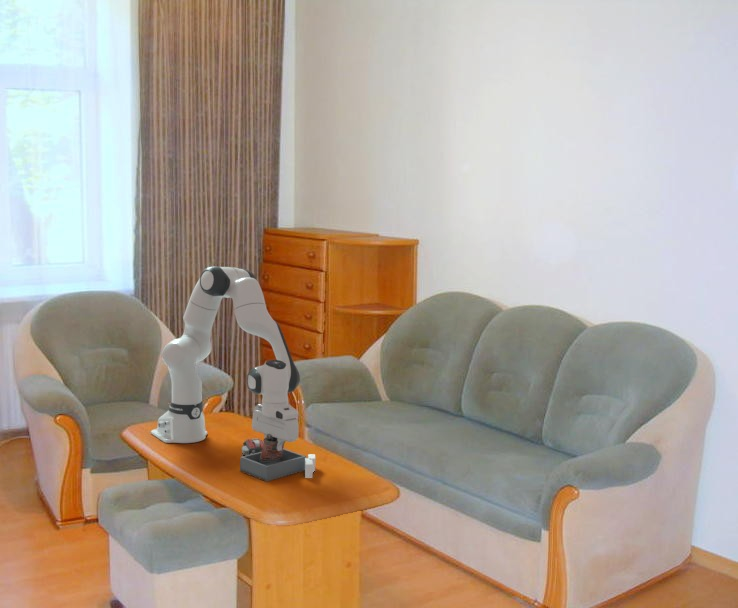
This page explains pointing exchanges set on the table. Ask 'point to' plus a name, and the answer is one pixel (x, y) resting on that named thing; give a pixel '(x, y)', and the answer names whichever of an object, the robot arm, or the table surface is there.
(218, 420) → the table surface
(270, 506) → the table surface
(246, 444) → the walkie-talkie
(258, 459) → the grey tray
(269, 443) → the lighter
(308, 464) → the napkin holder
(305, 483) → the table surface
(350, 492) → the table surface
